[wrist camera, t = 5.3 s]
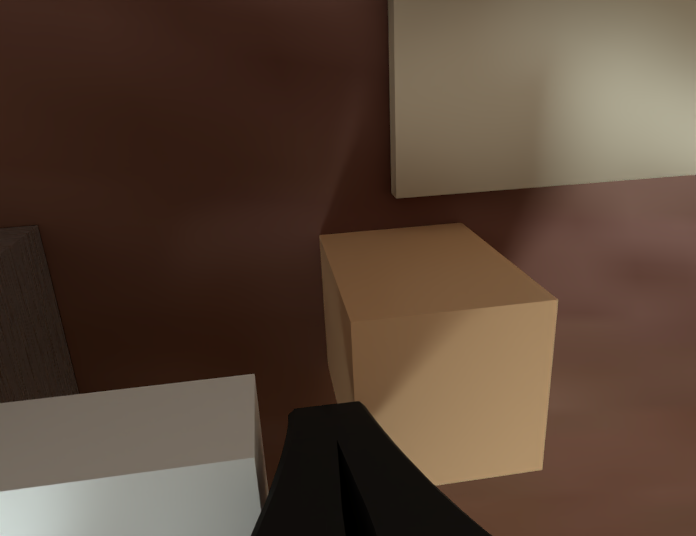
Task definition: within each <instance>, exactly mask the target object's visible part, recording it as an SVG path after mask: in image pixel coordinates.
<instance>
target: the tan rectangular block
mask: <svg viewBox="0 0 696 536" xmlns="http://www.w3.org/2000/svg"><path fill="white" fill-rule="evenodd" d="M319 240H320V255H321V270H322V286H323V301H324V316H325V332H326V347H327V362H328V368H329V372H330V376H331V381H332V385H333V389H334V393H335V397H336V402H337V404H338V403H347V402H355V401H360V402H361V403H362V404H363V405H365V406H366V408H367V409H368V411H369V412H370V413H371V415H372V416H373V417H374V419H375V420H376V421H377V422H378V424H379V425H380V426H381V427H382V429H383V430H384V431H385V432H386V433H387V435H388V436H389V437H390V438H391V439H392V440H393V442H394V443H395V444H396V445H397V446H398V447H399V448H400V450H401V451H402V452H403V453H404V454H405V455H406V456H407V457H408V458H409V459H410V460H411V461H412V462H413V464H414V465H415V466H416V467H417V468H418V469H419V470H420V471H421V472H422V473H423V474H424V475H425V476H426V477H427V478H428V479H429V480H430V481H431V482H432V483H433V484H434V485H435V486H436V485H443V484H450V483H456V482H463V481H470V480H477V479H483V478H490V477H497V476H504V475H510V474H517V473H524V472H531V471H537V470H542V466H543V456H544V445H545V434H546V424H547V413H548V402H549V392H550V381H551V371H552V360H553V349H554V339H555V328H556V317H557V307H558V299H557V298H555V297H554V296H553V295H552V294H550V293H549V292H548V291H547V290H545V289H544V288H543V287H542V286H540V285H539V284H538V283H537V282H535V281H534V280H533V279H532V278H530V277H529V276H528V275H527V274H525V273H524V272H523V271H521V270H520V269H519V268H518V267H516V266H515V265H514V264H513V263H511V262H510V261H509V260H508V259H506V258H505V257H504V256H503V255H501V254H500V253H499V252H498V251H496V250H495V249H494V248H493V247H491V246H490V245H489V244H488V243H486V242H485V241H484V240H483V239H481V238H480V237H479V236H478V235H476V234H475V233H474V232H473V231H471V230H470V229H469V228H468V227H466V226H465V225H464V224H463V223H450V224H439V225H428V226H416V227H405V228H393V229H382V230H371V231H359V232H348V233H336V234H325V235H319Z"/></svg>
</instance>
